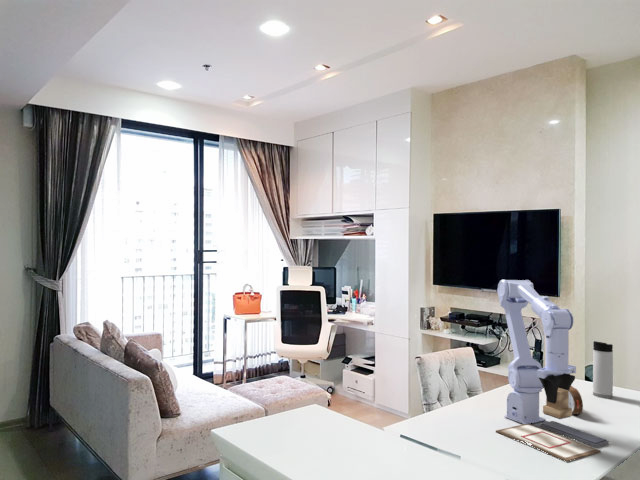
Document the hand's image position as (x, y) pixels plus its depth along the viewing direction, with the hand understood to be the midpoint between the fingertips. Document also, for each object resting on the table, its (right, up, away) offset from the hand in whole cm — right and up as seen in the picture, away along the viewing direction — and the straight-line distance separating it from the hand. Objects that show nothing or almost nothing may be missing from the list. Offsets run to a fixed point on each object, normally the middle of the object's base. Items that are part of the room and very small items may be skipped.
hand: (556, 401), depth 133 cm
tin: (+16, -12, +25) cm, 32 cm away
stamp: (0, -4, 0) cm, 4 cm away
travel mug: (+38, -13, +43) cm, 59 cm away
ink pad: (+6, -11, +3) cm, 13 cm away
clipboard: (-4, -10, -2) cm, 11 cm away
